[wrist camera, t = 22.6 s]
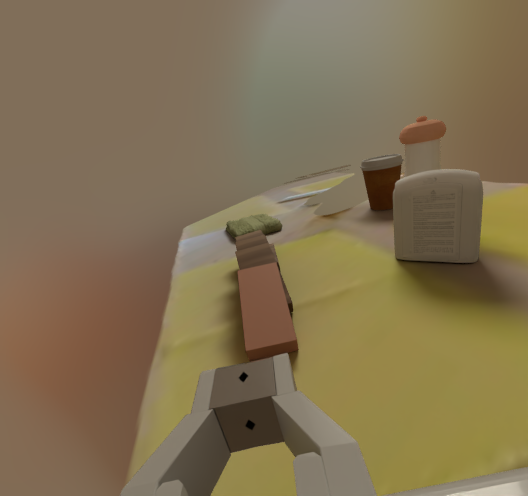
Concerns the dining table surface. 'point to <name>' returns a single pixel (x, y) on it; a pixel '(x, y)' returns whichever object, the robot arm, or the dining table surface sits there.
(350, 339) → the dining table surface
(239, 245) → the walnut domino
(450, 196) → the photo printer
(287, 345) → the terracotta domino
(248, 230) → the washcloth
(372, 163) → the disposable coffee cup
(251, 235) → the walnut domino
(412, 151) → the pepper shaker
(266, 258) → the walnut domino
